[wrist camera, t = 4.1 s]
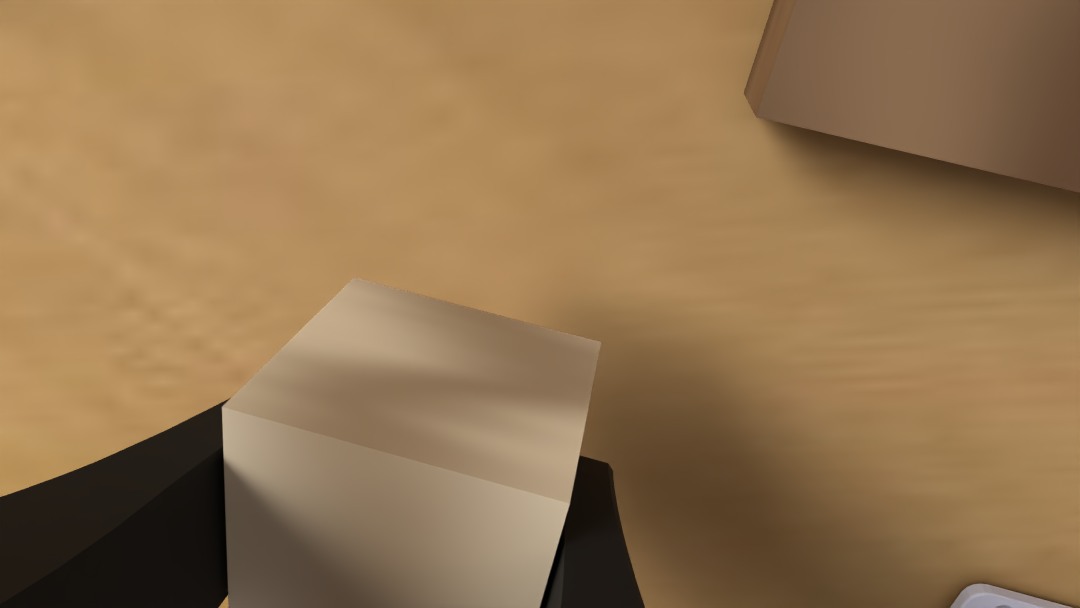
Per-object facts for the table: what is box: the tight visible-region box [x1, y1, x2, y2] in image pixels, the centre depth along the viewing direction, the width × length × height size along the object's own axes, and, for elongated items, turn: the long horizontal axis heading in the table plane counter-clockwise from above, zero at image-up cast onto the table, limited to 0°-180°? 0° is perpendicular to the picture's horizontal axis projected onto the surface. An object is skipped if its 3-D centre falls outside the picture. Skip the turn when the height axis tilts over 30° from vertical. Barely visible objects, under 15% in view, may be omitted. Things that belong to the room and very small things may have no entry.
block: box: [222, 278, 601, 608], centre depth 11 cm, size 4×4×4 cm
